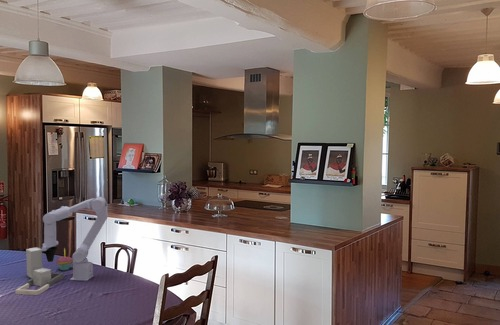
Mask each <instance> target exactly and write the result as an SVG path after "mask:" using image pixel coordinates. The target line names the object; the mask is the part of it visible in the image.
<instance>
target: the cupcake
mask: <svg viewBox="0 0 500 325" xmlns="http://www.w3.org/2000/svg"><path fill="white" fill-rule="evenodd" d="M63 252H64V254H63V256H60V257H59V258H57V260H56V264H57V266H58V268H59V270H60V271H68V270H70V267H71V264H73V259H72V256H71V257H70V256H66V248H63Z"/></svg>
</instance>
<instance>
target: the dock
mask: <svg viewBox="0 0 500 325" xmlns="http://www.w3.org/2000/svg"><path fill="white" fill-rule="evenodd" d="M62 279H63V280H64V272H62V273H61V272H51V280H49V281H48V282H47V284H49V288H50V287H51V286H53V285H54V284H56V283H58V282H60V281H61V280H62ZM27 283H29V287H31V286H33V278H32V279H31V278H30V279H29V280H27V282H26V284H27Z"/></svg>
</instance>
